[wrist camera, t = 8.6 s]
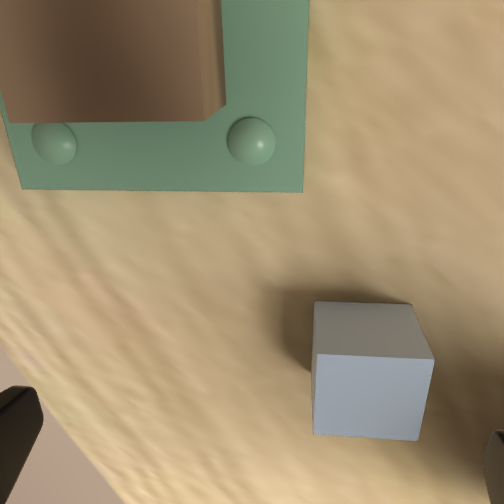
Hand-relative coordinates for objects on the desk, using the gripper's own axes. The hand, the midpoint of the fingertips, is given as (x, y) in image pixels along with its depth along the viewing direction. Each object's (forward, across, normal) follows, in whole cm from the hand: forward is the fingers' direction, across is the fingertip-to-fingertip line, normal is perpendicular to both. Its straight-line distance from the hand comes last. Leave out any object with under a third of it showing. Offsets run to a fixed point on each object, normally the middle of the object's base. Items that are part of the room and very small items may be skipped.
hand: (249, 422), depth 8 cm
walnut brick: (+10, +5, -8) cm, 14 cm away
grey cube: (+12, -4, +6) cm, 14 cm away
